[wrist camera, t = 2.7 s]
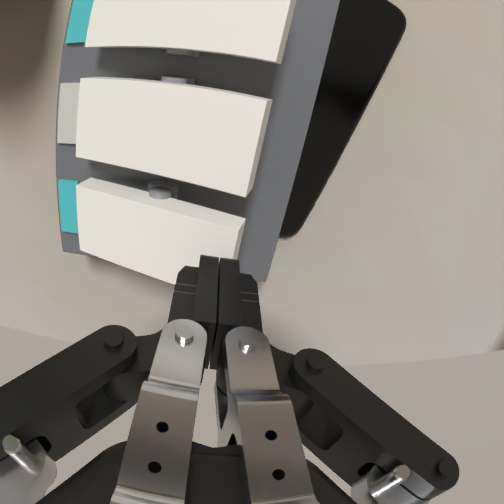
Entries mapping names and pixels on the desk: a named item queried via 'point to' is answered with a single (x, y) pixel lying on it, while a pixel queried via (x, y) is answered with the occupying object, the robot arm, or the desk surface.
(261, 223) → the console
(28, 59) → the desk surface
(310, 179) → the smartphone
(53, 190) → the desk surface
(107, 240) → the block
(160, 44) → the rocker
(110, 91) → the rocker mid
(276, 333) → the desk surface
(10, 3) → the desk surface
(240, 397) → the robot arm
